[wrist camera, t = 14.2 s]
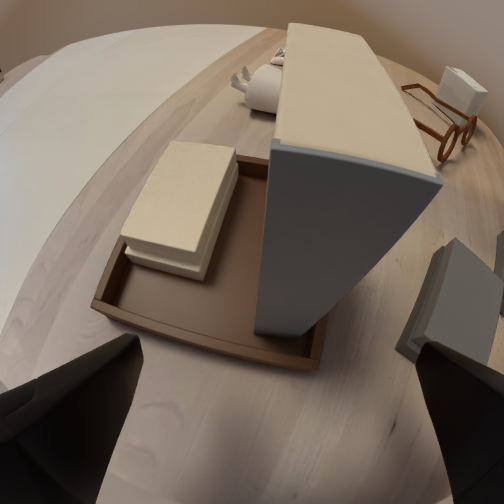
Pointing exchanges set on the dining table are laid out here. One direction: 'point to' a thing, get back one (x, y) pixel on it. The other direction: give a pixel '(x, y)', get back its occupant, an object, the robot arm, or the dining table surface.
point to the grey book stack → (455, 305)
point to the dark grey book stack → (500, 264)
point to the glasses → (453, 128)
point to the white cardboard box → (460, 95)
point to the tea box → (1, 76)
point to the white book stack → (182, 209)
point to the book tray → (211, 289)
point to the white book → (334, 178)
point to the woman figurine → (260, 88)
